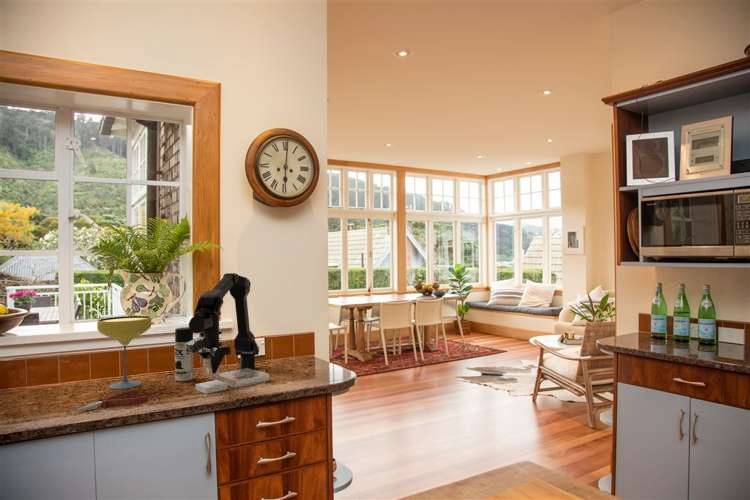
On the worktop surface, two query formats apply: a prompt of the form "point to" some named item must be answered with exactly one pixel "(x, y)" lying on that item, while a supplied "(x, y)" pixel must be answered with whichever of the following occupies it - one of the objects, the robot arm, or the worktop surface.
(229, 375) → the plate
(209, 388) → the soap bar
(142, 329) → the cocktail glass
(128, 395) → the pliers
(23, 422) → the worktop surface
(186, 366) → the spray can
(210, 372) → the peg
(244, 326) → the robot arm
